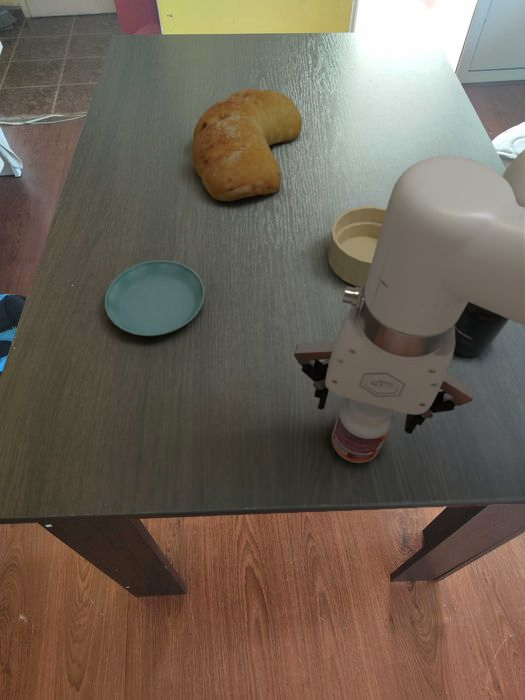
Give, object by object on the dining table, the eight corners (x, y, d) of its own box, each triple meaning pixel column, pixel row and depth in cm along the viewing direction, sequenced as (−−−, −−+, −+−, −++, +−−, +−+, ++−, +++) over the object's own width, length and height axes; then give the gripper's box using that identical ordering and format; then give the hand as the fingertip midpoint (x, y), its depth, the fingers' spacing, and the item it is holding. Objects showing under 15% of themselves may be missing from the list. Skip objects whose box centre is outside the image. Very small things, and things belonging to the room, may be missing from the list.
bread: (220, 109, 104) (216, 61, 96) (307, 122, 101) (311, 73, 93) (167, 198, 86) (157, 148, 78) (271, 215, 83) (271, 165, 75)
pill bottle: (381, 466, 57) (404, 426, 47) (330, 462, 57) (343, 420, 48) (378, 421, 60) (400, 375, 51) (331, 416, 60) (343, 370, 51)
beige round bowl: (411, 243, 79) (421, 215, 74) (401, 298, 72) (411, 271, 67) (336, 228, 81) (341, 199, 76) (319, 280, 74) (323, 252, 69)
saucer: (95, 339, 68) (90, 328, 65) (126, 267, 76) (122, 255, 74) (194, 350, 66) (192, 340, 64) (214, 276, 75) (213, 264, 73)
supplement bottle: (439, 353, 66) (470, 297, 56) (440, 317, 70) (469, 259, 60) (489, 363, 65) (529, 308, 55) (487, 325, 69) (525, 268, 59)
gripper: (291, 322, 37) (281, 418, 51) (517, 377, 34) (441, 462, 48) (313, 258, 41) (298, 363, 55) (516, 303, 38) (447, 402, 52)
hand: (365, 409), depth 52 cm, fingers open, 9 cm apart
